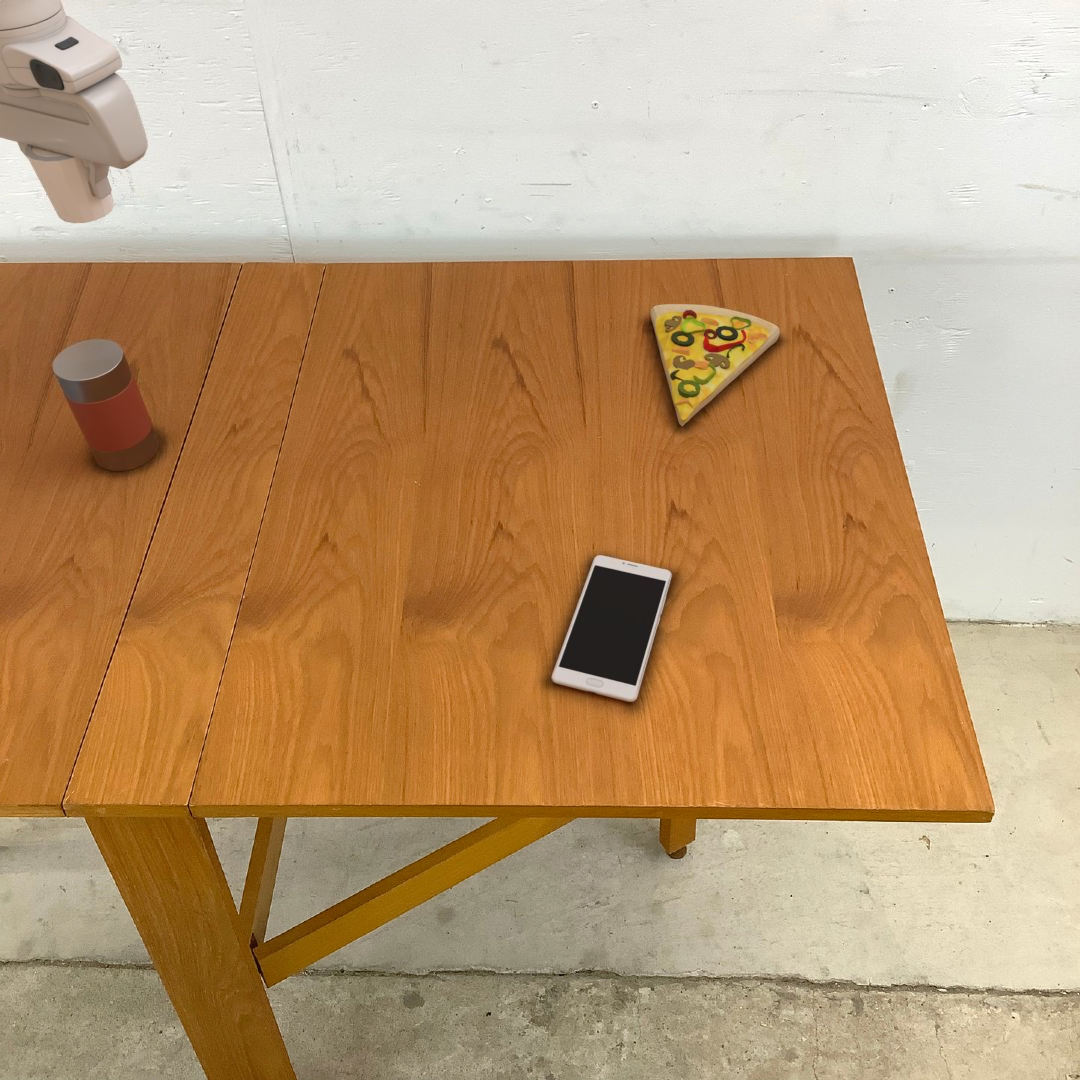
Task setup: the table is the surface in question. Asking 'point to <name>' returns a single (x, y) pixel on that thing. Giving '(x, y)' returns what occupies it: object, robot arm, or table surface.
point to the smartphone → (613, 628)
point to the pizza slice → (706, 350)
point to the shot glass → (68, 186)
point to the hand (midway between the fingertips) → (78, 188)
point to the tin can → (106, 404)
